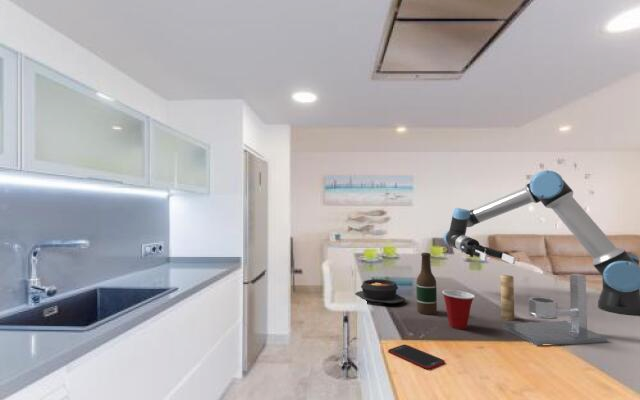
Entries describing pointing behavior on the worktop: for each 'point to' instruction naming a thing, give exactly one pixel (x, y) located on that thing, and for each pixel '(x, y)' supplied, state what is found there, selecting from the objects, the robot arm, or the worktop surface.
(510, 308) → the brown wooden cylinder
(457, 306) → the plastic cup
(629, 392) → the worktop surface
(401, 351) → the cell phone
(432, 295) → the beer bottle
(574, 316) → the cup bracket
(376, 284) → the casserole
